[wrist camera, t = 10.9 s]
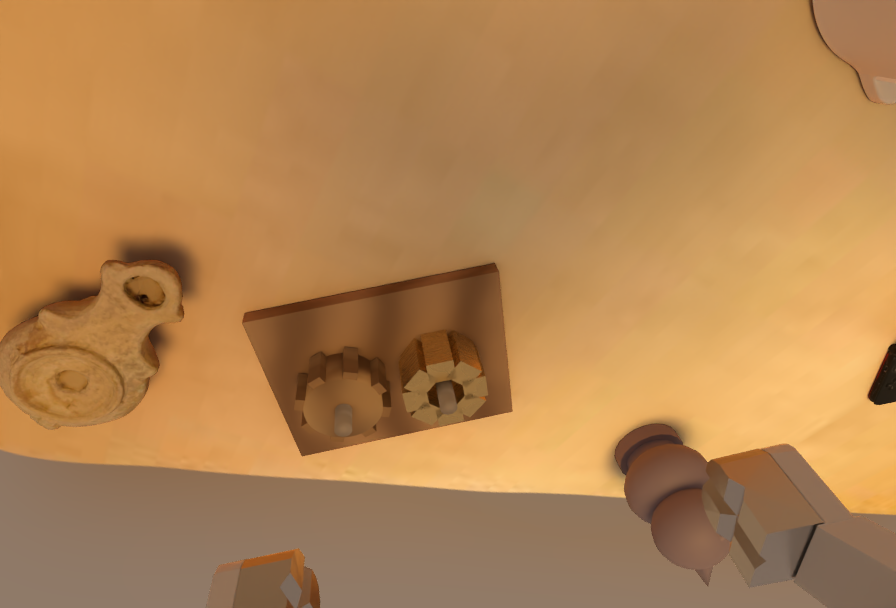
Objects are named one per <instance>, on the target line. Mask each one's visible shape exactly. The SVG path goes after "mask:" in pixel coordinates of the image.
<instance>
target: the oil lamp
mask: <svg viewBox="0 0 896 608" xmlns="http://www.w3.org/2000/svg"><path fill="white" fill-rule="evenodd" d="M100 272H101V290H100V292H99V294H98V296H90V297H88V298H85V299H83V300H80V301H61V302H56V303H53V304H50V305H48V306H46V307H43V308H42V309H41V310H40V312H39V314H38V316H36V317H34V318H31V319H29V320H27V321H25V322H23V323H21V324H19V325H17V326H16V327H14V328H13V329H11V330H10V331H9V332H8V333H7V334H6V335H5V336H4V338H3V339H2V341H1V342H0V386H1V388H2V389H3V391H4V393H5V394H6V396H7V397H8V398H9V399H10V400H11V401H12V402H13V403H14V404H15V405H16V406H18V407H19V408H20V409H21V410H22V411H23V412H24V413H26V414H28V415H30V418H31V419H33V420H34V421H35V422H37V423H38V424H39V425H41V426H43V427H45V428H46V429H49V430H53V429H58V428H59V427H61V426H72V427H81V426H92V425H97V424H102V423H107V422H110V421H113V420H116V419H119V418H121V417H123V416H125V415H127V414H128V413H130V412H131V411H132V410H133V409H134V408H135V407H136V406H137V405H138V404H139V403H140V402H141V400H142V399H143V398H144V396H145V394H146V392H147V389H148V386H149V381H150V377H151V376H153V375H154V374H156V373H157V371H158V368H159V360H158V357H157V355H156V352H155V350H154V348H153V346H152V344H151V342H150V340H149V338H148V335H149V333H150V331H151V330H152V329H153V328H154V327H155V326H157V325H159V324H162V323H175V322H181V320H182V319H183V318H184V310H183V306H182V304H181V302H182V297H183V295H182V283H181V280H180V277H179V275H178V273H177V271H176V270H175V269H174V268H173V267H171V266H170V265H168V264H166V263H164V262H161V261H159V260H140V261H136V262H132V263H125V262H122V261H117V260H108V261H106V262H105V263H104V264H103V265H102V267H101V271H100Z"/></svg>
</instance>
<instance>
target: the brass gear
mask: <svg viewBox="0 0 896 608" xmlns="http://www.w3.org/2000/svg"><path fill="white" fill-rule="evenodd" d="M420 335H421V341H422V342H421V341H419V340H417V339H415V338H414V339H413V340H412V341H411V342H410V344H409V345H408V346H407V347H406V348H405V350H404V351H403V352H402V353H401V355H400V361H398V363H399V371H400V380H401V389H402V395H403V399H404V403H405V407H406V410H407V412H411V417H413V418H415V419H418V420H420V421H422V422H425V423H427V424H430V425H433V424H434V423H435V422H436V421H437V420H438V423H439V426H442V425H446V424H451V423H456V422H460V421H464V418H463V414H464V415H466V416H468V417H471V416H472V415H473V414H474V413H475V412H476V411H477V410H478V409H479V408H480V407H481V406H482V405H483V404H484V402H485V401H486V399H485V396H487V395H488V390H487V383H486V376H485V373H484V369H483V366H482V363H481V360H480V357H479V354H478V350H477V347H476V345H474V344H473V341H472V340H471V339H469V338H467V337H465V336H463V335H461V334H459V333H457V332H455V331H453V330H452V331H451V333H450V334H449V335H448V336H447V333H446V329H444V330H439V331H434V332H430V333H425V334H420ZM447 380H451V381H452V385H453V390H454V394H455V398H456V402H457V410H456V412H454V413H453V414H449V415H447V414H443V413H442V412H441V410H440V405H439V400H438V395H437V390H436V385H435V383H437V382H442V381H447Z"/></svg>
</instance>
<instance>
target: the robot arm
mask: <svg viewBox="0 0 896 608" xmlns="http://www.w3.org/2000/svg"><path fill="white" fill-rule="evenodd" d="M813 8H814V14H815V19H816V22H817V25H818V28H819V31H820V33H821V35H822V37H823V39H824V41H825V42H826V44H827V45H828V46H829V48H830V49H831V50H832V51H833V52H834V53H835V54H836V55H837V56H838V57H840V58H841V59H843V60H844V61H846V62H847V63H848V64H850V65H851V66H852V67H854V68H855V69H856V71H857V72H858V73H859V76H860V79H861V82H862V85H863V88H864V91H865V93H866V95H867V97H868V98H869V99H870V100H871V101H872V102H875V103H881V104H894V103H896V0H813ZM706 473H707V474H708V476H709V477H710V479H709V480H708V481H707V482H706V483H705V484H704V485H703V489H702V500H703V505H704V510H705V512H706V514H707V517H708V519H709V521H710V523H711V525H712V526H713V528H714V530H715V531H716V533H718V534H719V535H721V536H722V537H724V538H726V539H727V540H729V541H730V549H729V555H730V556H731V558H732V560H733V562H734V563H735V565H736V567H737V568H738V570H739V572H740V573H741V575H742V577H743V578H744V580H745V582H746V583H747V585H748V587H749V588H750V587H755V586H760V585H766V584H771V583H776V582H782V581H787V580H792V579H794V582H795V583H796V584H797V585H798V586H800V587H801V588H802V589H804V590H805V591H806V592H808V593H809V594H810V595H812V596H813V597H814V598H816V599H817V600H818V601H820V602H821V603H822V604H823V605H825V606H826V607H827V608H896V534H895V533H894V532H892V531H890V530H888V529H886V528H884V527H882V526H880V525H879V524H877V523H875V522H873V521H871V520H869V519H867V518H865V517H863V516H857V517H853V515H852V514H851V513H850V512H849V511H848V510H847V508H846V507H845V506H844V505H843V504H842V503H841V501H840V500H839V499H838V498H837V497H836V496H835V494H834V493H833V492H832V491H831V490H830V489H829V487H828V486H827V485H826V484H825V483H824V482H823V480H822V479H821V478H820V477H819V476H818V475H817V473H816V472H815V471H814V470H813V469H812V468H811V466H810V465H809V464H808V463H807V462H806V461H805V459H804V458H803V457H802V456H801V455H800V454H799V452H798V451H797V450H796V449H795V448H794V447H792V446H791V445H789V444H779V445H775V446H770V447H766V448H761V449H754V450H750V451H746V452H742V453H737V454H733V455H729V456H725V457H720V458H716V459H712V460H710V461H709V462H708V463H707V467H706ZM304 561H305V557H304V555H303V554H302V552H301V551H300V549H294V550H290V551H284V552H280V553H275V554H270V555H266V556H261V557H256V558H251V559H244V560H240V561H235V562H231V563H227V564H222V565H219V566H218V568H217V570H216V572H215V574H214V575H213V579H212V583H211V587H210V592H209V596H208V600H207V604H206V608H320V595H319V586H318V582H317V579H316V576H315V574H314V572H313V570H312V569H310V568H307V567H305V566H304Z"/></svg>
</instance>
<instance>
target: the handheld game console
mask: <svg viewBox="0 0 896 608" xmlns="http://www.w3.org/2000/svg"><path fill="white" fill-rule="evenodd" d="M869 399H870V400H871V401H872V402H874V404H876V405H882V404H887V403H892V402H896V344H893V345H891V346H890V347H889V352H888V354H887V356H886V358H885V360H884V363H883V365H882V367H881V369H880V371H879V373H878V376H877V378H876V380H875V382H874V385H873V387H872V389H871V391H870V394H869Z"/></svg>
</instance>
